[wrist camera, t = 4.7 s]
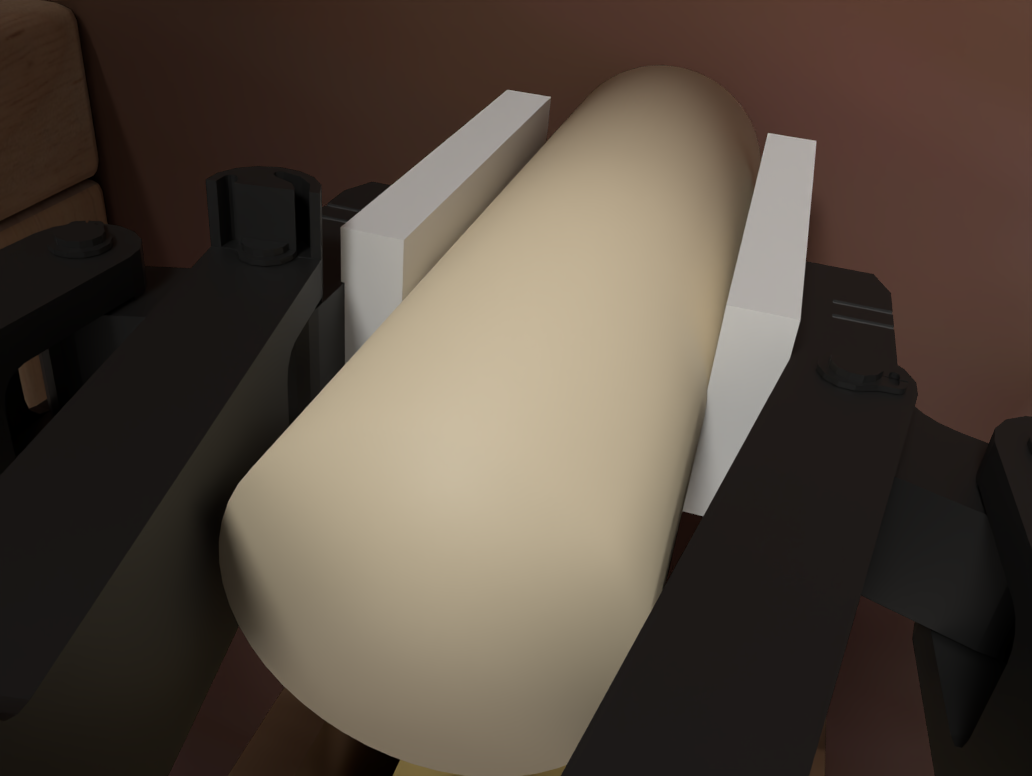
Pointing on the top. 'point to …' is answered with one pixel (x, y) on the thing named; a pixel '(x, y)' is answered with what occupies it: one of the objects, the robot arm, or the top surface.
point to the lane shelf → (335, 747)
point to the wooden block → (43, 134)
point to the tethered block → (508, 449)
